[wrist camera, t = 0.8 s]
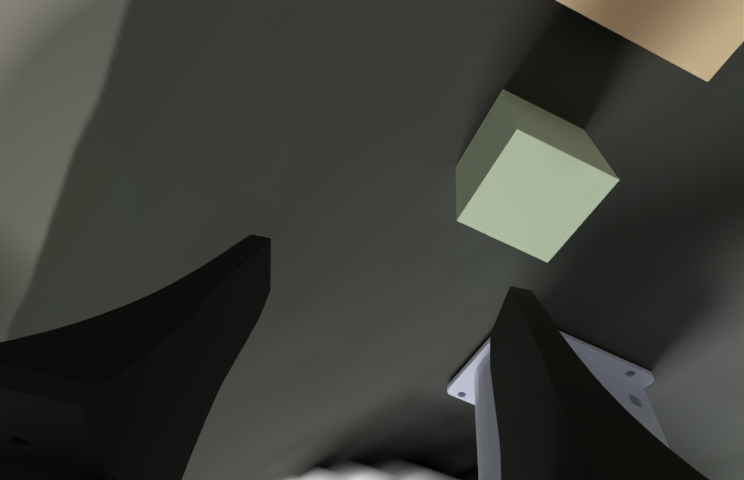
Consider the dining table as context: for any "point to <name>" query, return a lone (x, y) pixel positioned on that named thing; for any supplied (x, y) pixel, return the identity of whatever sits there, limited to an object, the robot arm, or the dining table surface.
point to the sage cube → (529, 177)
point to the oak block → (674, 28)
